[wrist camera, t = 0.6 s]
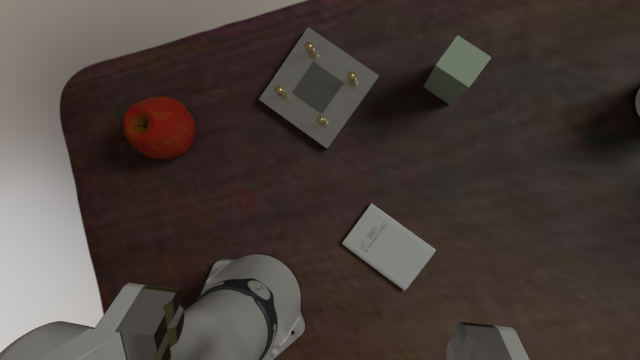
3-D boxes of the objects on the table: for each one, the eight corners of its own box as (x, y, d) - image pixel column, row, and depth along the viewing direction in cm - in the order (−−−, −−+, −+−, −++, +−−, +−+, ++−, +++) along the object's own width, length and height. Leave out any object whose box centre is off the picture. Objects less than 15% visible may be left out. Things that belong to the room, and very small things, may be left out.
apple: (139, 148, 66) (96, 143, 56) (157, 93, 66) (117, 77, 55) (190, 168, 65) (156, 167, 55) (209, 111, 64) (178, 99, 54)
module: (449, 104, 59) (469, 87, 47) (423, 86, 59) (435, 65, 47) (467, 81, 58) (491, 57, 47) (440, 62, 59) (457, 35, 47)
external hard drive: (403, 288, 61) (342, 242, 62) (434, 248, 60) (371, 202, 61) (404, 291, 59) (341, 244, 61) (436, 250, 58) (371, 203, 60)
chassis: (328, 149, 62) (324, 147, 57) (261, 101, 63) (251, 94, 58) (379, 78, 60) (379, 69, 55) (309, 30, 62) (304, 18, 57)
